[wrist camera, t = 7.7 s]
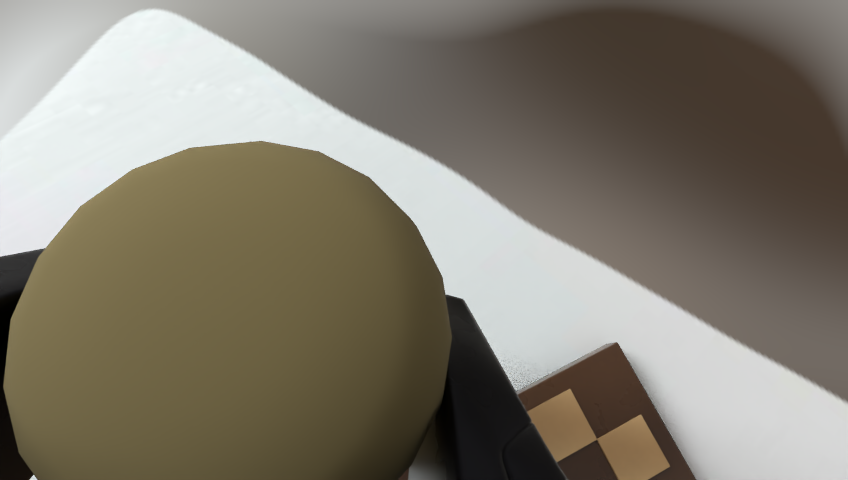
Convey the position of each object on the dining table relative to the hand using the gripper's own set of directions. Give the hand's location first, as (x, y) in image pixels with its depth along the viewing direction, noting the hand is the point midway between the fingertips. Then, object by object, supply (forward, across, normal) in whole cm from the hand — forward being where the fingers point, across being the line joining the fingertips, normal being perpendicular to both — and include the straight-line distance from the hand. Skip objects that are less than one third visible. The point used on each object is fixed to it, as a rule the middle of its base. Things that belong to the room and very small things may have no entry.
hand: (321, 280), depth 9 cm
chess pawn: (+4, 0, +6) cm, 7 cm away
